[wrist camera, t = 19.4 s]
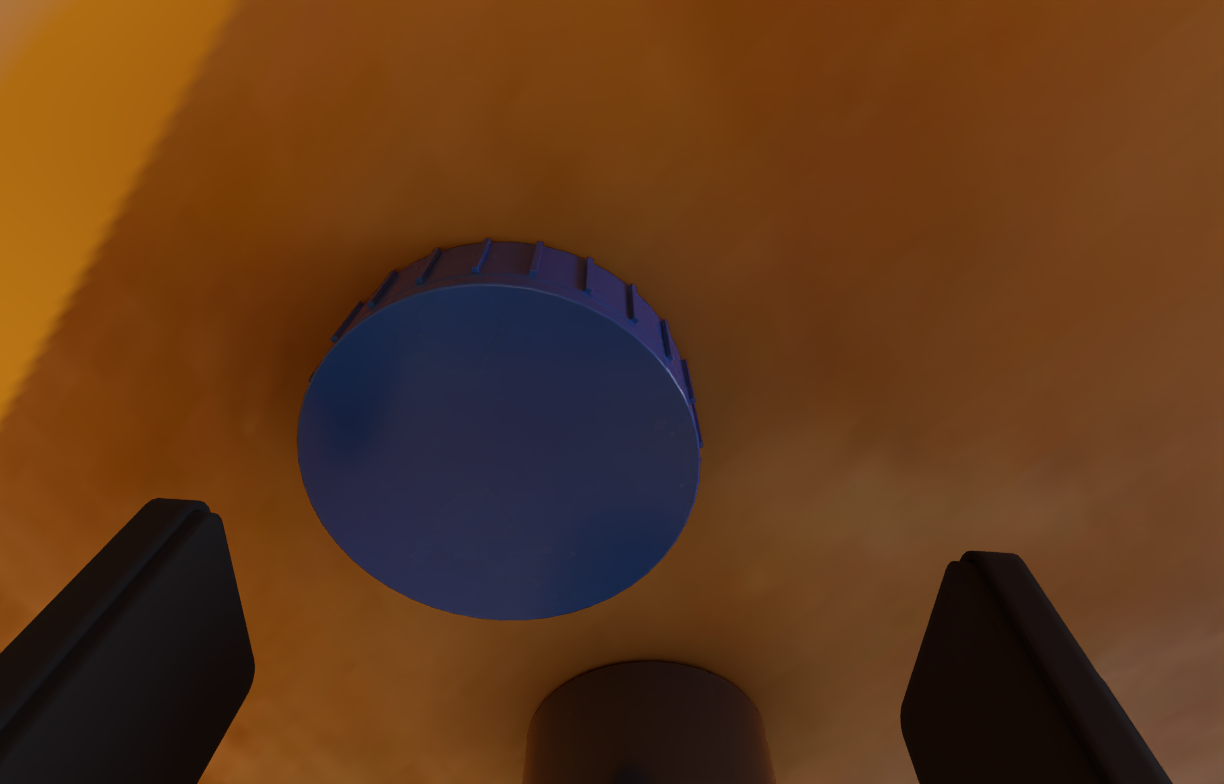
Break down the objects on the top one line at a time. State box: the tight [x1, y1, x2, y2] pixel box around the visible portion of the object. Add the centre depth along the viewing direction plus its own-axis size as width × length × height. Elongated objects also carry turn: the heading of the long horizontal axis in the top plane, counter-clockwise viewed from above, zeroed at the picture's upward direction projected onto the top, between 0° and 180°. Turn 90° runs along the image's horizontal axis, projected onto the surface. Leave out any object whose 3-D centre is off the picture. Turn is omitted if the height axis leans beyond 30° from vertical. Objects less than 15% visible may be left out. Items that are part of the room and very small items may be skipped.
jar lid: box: [297, 238, 703, 620], centre depth 13 cm, size 7×7×2 cm
